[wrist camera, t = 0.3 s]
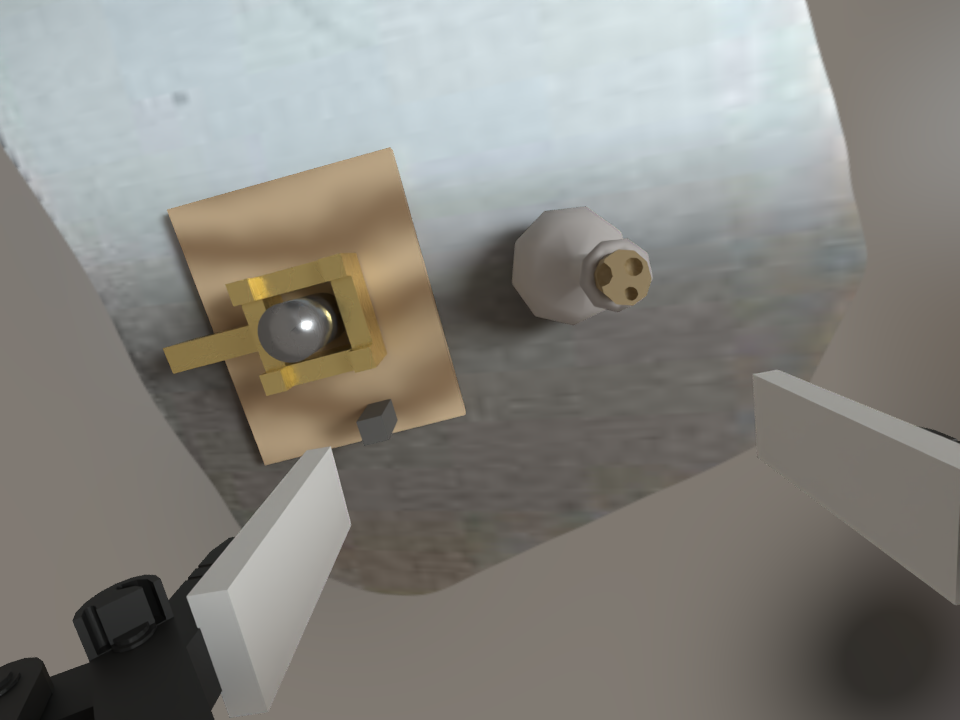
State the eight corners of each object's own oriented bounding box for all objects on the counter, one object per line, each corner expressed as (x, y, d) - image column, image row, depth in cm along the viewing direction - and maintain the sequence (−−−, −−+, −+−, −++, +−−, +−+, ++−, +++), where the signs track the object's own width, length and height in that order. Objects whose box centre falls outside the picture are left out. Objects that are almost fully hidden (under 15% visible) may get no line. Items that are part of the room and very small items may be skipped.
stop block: (368, 404, 42) (356, 422, 38) (391, 398, 42) (381, 415, 38) (375, 425, 42) (364, 445, 38) (397, 420, 42) (389, 439, 38)
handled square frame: (355, 252, 39) (339, 253, 34) (387, 354, 41) (376, 367, 36) (174, 301, 40) (133, 309, 35) (212, 399, 42) (179, 418, 37)
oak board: (175, 210, 40) (166, 209, 38) (392, 150, 39) (390, 147, 38) (270, 459, 44) (265, 465, 43) (465, 410, 44) (465, 414, 42)
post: (297, 298, 41) (248, 311, 32) (343, 285, 41) (307, 295, 32) (312, 343, 42) (269, 369, 33) (357, 332, 42) (326, 354, 33)
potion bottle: (506, 315, 42) (528, 364, 24) (514, 205, 40) (546, 171, 22) (609, 322, 42) (706, 375, 24) (623, 212, 40) (738, 185, 22)
